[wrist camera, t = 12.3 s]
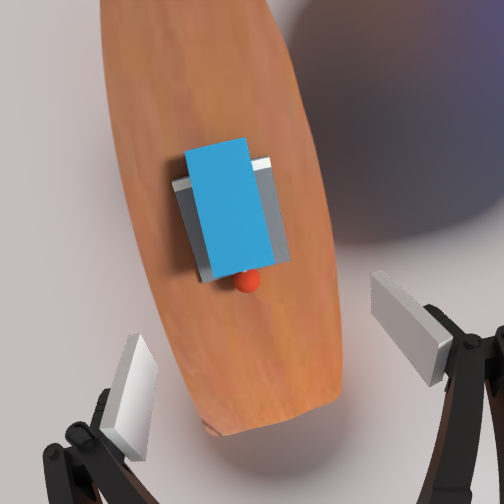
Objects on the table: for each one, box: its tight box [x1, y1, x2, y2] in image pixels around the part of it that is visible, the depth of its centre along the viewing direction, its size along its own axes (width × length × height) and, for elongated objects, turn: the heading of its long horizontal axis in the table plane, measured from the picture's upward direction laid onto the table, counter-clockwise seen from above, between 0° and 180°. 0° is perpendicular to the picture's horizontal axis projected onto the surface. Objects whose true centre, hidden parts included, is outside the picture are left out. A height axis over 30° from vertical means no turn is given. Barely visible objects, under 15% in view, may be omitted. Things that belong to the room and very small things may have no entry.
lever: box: [185, 137, 275, 293], centre depth 36 cm, size 7×7×18 cm
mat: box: [172, 156, 291, 283], centre depth 38 cm, size 14×12×1 cm
